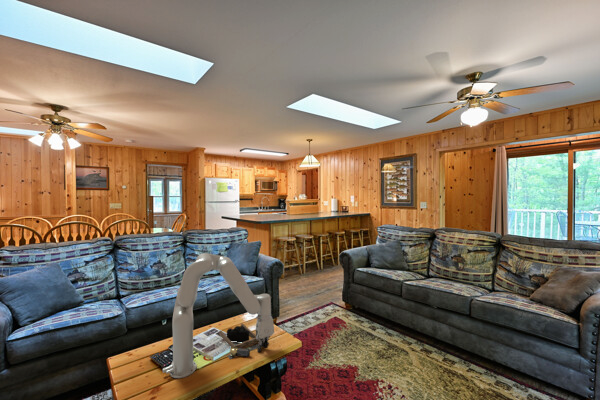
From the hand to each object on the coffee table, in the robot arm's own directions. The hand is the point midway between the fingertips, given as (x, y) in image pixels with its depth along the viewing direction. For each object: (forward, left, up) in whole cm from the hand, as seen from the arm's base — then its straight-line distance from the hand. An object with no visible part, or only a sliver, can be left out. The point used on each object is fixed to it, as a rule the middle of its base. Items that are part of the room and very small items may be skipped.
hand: (264, 347), depth 152 cm
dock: (-7, +20, -2) cm, 22 cm away
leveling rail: (-7, +6, -2) cm, 9 cm away
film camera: (-7, +20, -2) cm, 21 cm away
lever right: (0, +4, -1) cm, 4 cm away
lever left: (-14, +4, -1) cm, 14 cm away
